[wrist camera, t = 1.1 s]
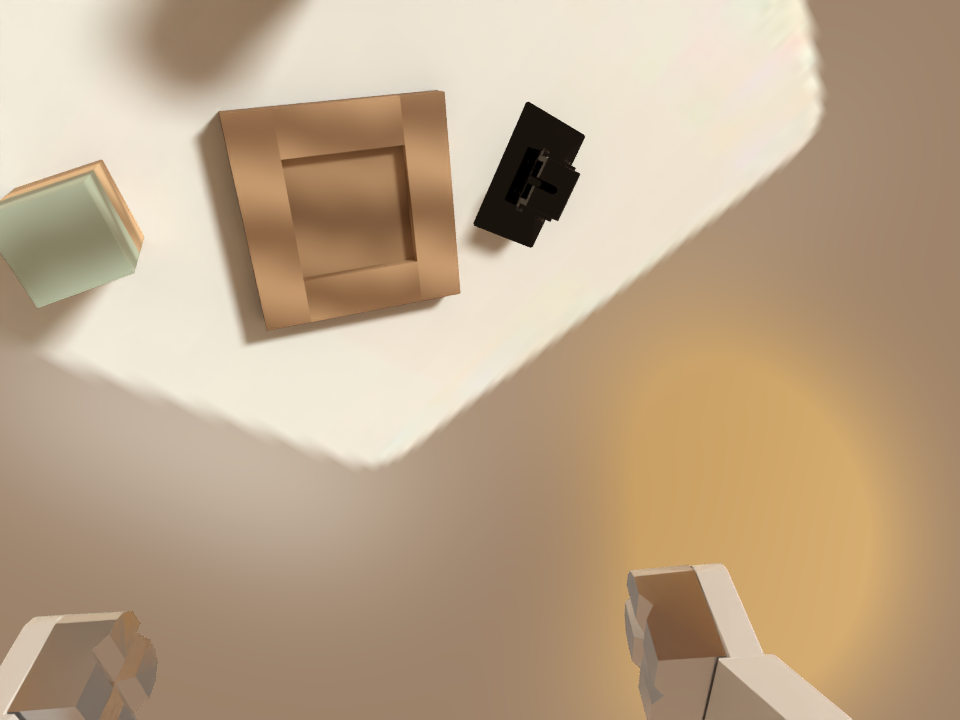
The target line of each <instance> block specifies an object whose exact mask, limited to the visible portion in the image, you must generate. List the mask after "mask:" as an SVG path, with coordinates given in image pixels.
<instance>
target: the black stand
mask: <svg viewBox="0 0 960 720" xmlns="http://www.w3.org/2000/svg"><path fill="white" fill-rule="evenodd" d="M584 138H585V136H584V134H582V133H580V132H579V131H577V130H575V129H574V128H572V127H570V126H569V125H567V124H565V123H563V122H562V121H560V120H558V119H557V118H555V117H553V116H552V115H550V114H548V113H547V112H545V111H543V110H542V109H540V108H538V107H537V106H535V105H533V104H532V103H530V102H526V104H525V106H524V108H523V111H522V113H521V115H520V118H519V120H518V122H517V125H516V127H515V129H514V131H513V134H512V136H511V138H510V141H509V143H508V145H507V148H506V150H505V152H504V154H503V157H502V159H501V161H500V164H499V166H498V168H497V170H496V173H495V175H494V177H493V180H492V182H491V184H490V187H489V189H488V191H487V193H486V196H485V198H484V200H483V203H482V205H481V207H480V210H479V212H478V214H477V216H476V219H475V221H474V225H475V226H477V227H479V228H482V229H484V230H487V231H489V232H492V233H494V234H497V235H499V236H502V237H505V238H507V239H510V240H512V241H515V242H517V243H520V244H522V245H525V246H527V247H530V248H531V247H533V245H534V243H535V241H536V239H537V237H538V235H539V232H540V230H541V228H542V226H543V224H544V222H545V220H547V221H550V222H551V220H552V219H554V220H556V221H558V220H559V218H560V216H561V214H562V212H563V210H564V208H565V206H566V204H567V201H568V199H569V197H570V195H571V193H572V191H573V189H574V187H575V185H576V183H577V180H578V178H579V176H580V173H578V172H576V171H575V169H576V168H575V167H573V166H571V165H572V163H573V161H574V159H575V157H576V155H577V153H578V151H579V149H580V147H581V145H582V142H583V140H584Z"/></svg>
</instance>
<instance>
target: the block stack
mask: <svg viewBox="0 0 960 720" xmlns="http://www.w3.org/2000/svg"><path fill="white" fill-rule="evenodd" d="M143 240H144V235H143V233H142V232H141V230H140V228H139V226H138V224H137V222H136V221H135V219H134V217H133V215H132V213H131V211H130V210H129V208H128V206H127V204H126V202H125V200H124V199H123V197H122V195H121V193H120V191H119V189H118V188H117V186H116V184H115V182H114V180H113V178H112V177H111V175H110V173H109V171H108V169H107V167H106V166H105V164H104V162H103V160H99V161H96V162H93V163H90V164H87V165H84V166H81V167H78V168H75V169H72V170H69V171H66V172H63V173H59V174H56V175H53V176H50V177H47V178H44V179H41V180H38V181H35V182H32V183H29V184H26V185H23V186H20V187H17V188H15V189H14V190H12V191H11V192H10V193H8V194H7V195H6V196H5V197H3V198H2V199H1V200H0V253H1V254H2V256H3V257H4V259H5V260H6V262H7V263H8V265H9V266H10V268H11V269H12V271H13V272H14V274H15V275H16V277H17V278H18V280H19V281H20V283H21V284H22V286H23V287H24V289H25V290H26V292H27V293H28V295H29V296H30V298H31V299H32V301H33V302H34V304H35V305H36V307H37V308H40V307H43V306H46V305H48V304H51V303H54V302H57V301H59V300H62V299H65V298H67V297H70V296H73V295H76V294H78V293H81V292H84V291H87V290H89V289H92V288H95V287H98V286H100V285H103V284H106V283H108V282H111V281H114V280H117V279H119V278H122V277H125V276H128V275H130V274H133V273H134V272H135V268H136V265H137V261H138V258H139V254H140V250H141V247H142V243H143Z"/></svg>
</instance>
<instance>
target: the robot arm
mask: <svg viewBox="0 0 960 720" xmlns="http://www.w3.org/2000/svg"><path fill="white" fill-rule="evenodd" d="M627 578H628V579H627V588H628V592H629V596H630V598H629V599H628V600H627V601H626V603H625V625H626V635H627V641H628V646H629V650H630V654H631V658H632V661H633V662H634V663H635V664H636V665H637V666H638V667H639V668H640V678H639V691H640V694H641V699H642V702H643V706H644V710H645V714H646V718H647V720H853V719H851V718H850V717H849V716H848V715H847V714H845V713H844V712H843V711H842V710H841V709H839V708H838V707H837V706H836V705H834V704H833V703H832V702H831V701H830V700H828V699H827V698H826V697H825V696H824V695H822V694H821V693H820V692H819V691H818V690H816V689H815V688H814V687H813V686H812V685H810V684H809V683H808V682H807V681H806V680H804V679H803V678H802V677H801V676H800V675H798V674H797V673H796V672H795V671H793V670H792V669H791V668H790V667H788V666H787V665H786V664H785V663H784V662H783V661H781V660H780V659H779V658H778V657H777V656H775V655H774V654H764V653H763V651H762V649H761V646H760V644H759V642H758V639H757V638H756V635H755V632H754V630H753V628H752V626H751V623H750V621H749V619H748V616H747V614H746V612H745V609H744V607H743V605H742V602H741V600H740V598H739V596H738V594H737V591H736V589H735V586H734V584H733V582H732V580H731V577H730V575H729V573H728V570H727V568H726V567H725V566H723V564H721V563H715V564H704V565H694V566H689V565H683V566H673V567H662V568H651V569H642V570H631V571H629V574H628V577H627ZM140 624H141V623H140V622H139V620H138V619H137V617H136V616H135V614H134V612H133V611H126V612H108V613H91V614H75V615H74V614H73V615H56V616H43V617H34V618H33V619H32V620H31V621H30V622H28V623H27V624H26V625H25V626H24V627H23V629H22V631H21V632H20V634H19V635H18V637H17V639H16V641H15V642H14V644H13V646H12V647H11V649H10V651H9V652H8V654H7V656H6V657H5V659H4V661H3V662H2V664H1V666H0V720H136V717H135V714H134V713H135V712H136V711H137V710H138V709H139V708H140V707H141V706H142V705H143V704H144V703H145V702H146V701H147V700H148V699H149V697H150V695H151V692H152V689H153V686H154V683H155V680H156V670H157V657H156V651H155V648H154V646H153V644H152V643H151V641H150V639H148V638H146V637H144V636H142V635H140V634H139V633H137V630H138V628H139V626H140Z"/></svg>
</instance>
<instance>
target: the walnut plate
mask: <svg viewBox="0 0 960 720" xmlns="http://www.w3.org/2000/svg"><path fill="white" fill-rule="evenodd" d="M219 116H220V120H221V125H222V129H223V134H224V138H225V143H226V147H227V152H228V156H229V161H230V165H231V170H232V174H233V179H234V183H235V188H236V192H237V197H238V202H239V206H240V211H241V215H242V220H243V224H244V229H245V233H246V238H247V242H248V247H249V251H250V256H251V260H252V265H253V269H254V274H255V278H256V283H257V287H258V292H259V296H260V301H261V305H262V310H263V314H264V319H265V323H266V327H267V331H268V330H273V329H278V328H283V327H289V326H294V325H299V324H304V323H309V322H315V321H320V320H325V319H330V318H335V317H341V316H346V315H351V314H356V313H362V312H367V311H372V310H377V309H382V308H388V307H393V306H398V305H403V304H408V303H414V302H419V301H424V300H429V299H434V298H440V297H445V296H450V295H455V294H460V282H459V270H458V257H457V244H456V232H455V219H454V206H453V194H452V181H451V168H450V156H449V143H448V131H447V118H446V105H445V93H444V92H443V91H438V90H433V91H423V92H413V93H402V94H392V95H382V96H371V97H361V98H351V99H340V100H330V101H320V102H309V103H299V104H289V105H278V106H268V107H258V108H247V109H237V110H227V111H219Z"/></svg>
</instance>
